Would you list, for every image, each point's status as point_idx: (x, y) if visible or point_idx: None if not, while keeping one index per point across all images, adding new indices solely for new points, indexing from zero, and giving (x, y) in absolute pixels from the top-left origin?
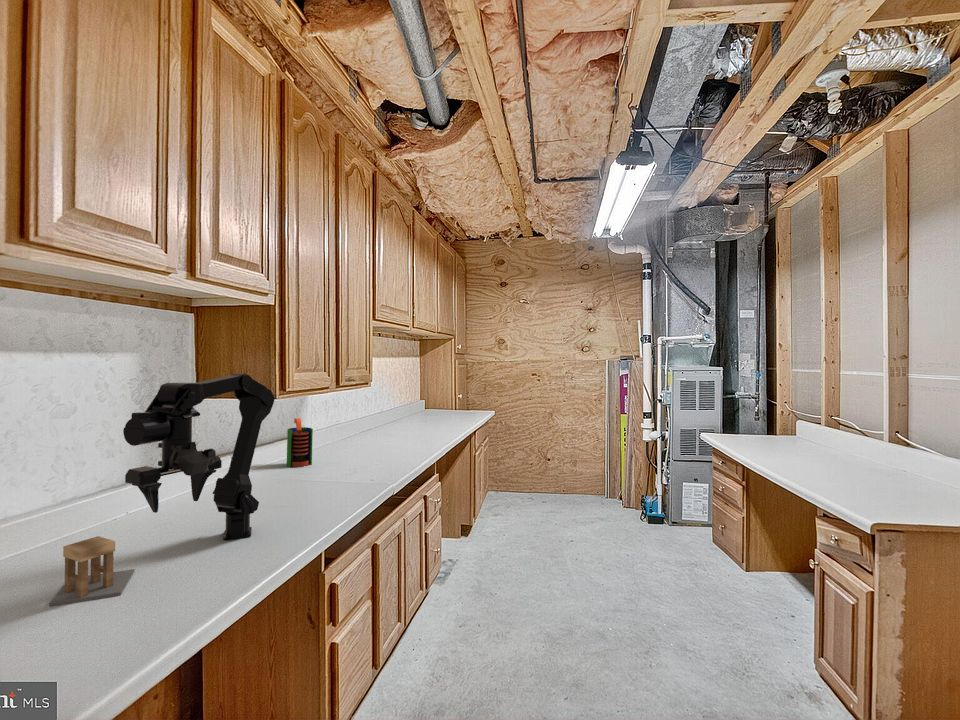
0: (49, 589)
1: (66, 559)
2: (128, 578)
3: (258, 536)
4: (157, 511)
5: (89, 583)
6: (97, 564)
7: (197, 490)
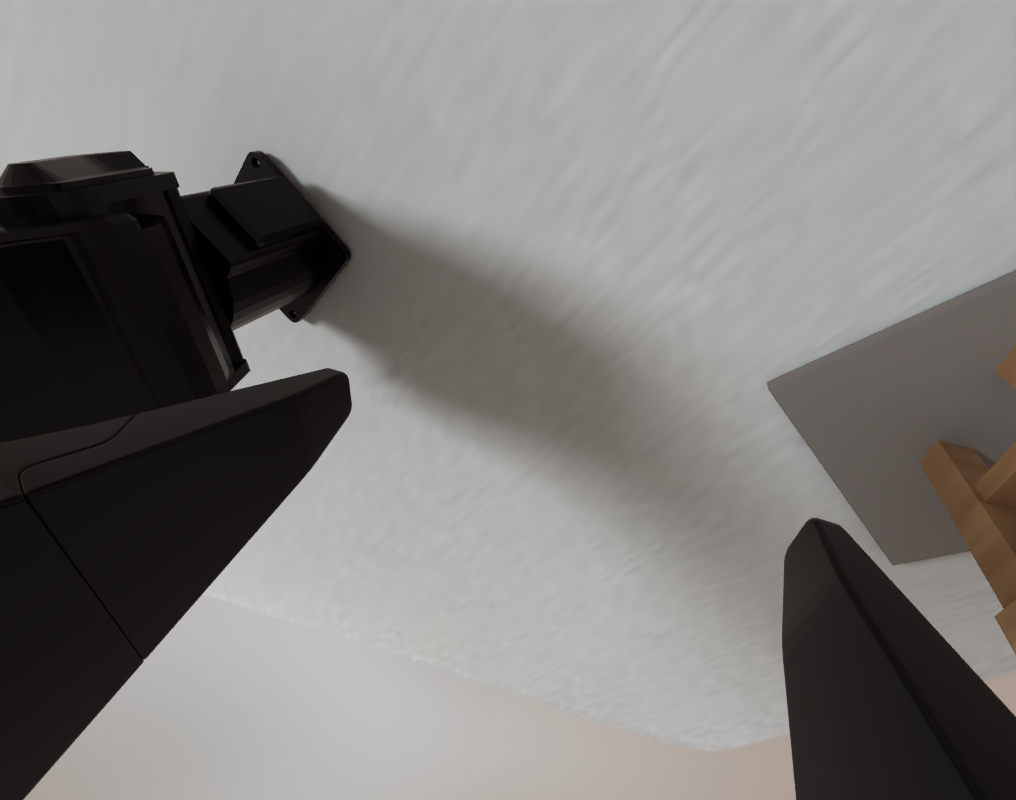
0: None
1: None
2: (907, 329)
3: (234, 112)
4: (824, 522)
5: None
6: (1004, 510)
7: (239, 434)
